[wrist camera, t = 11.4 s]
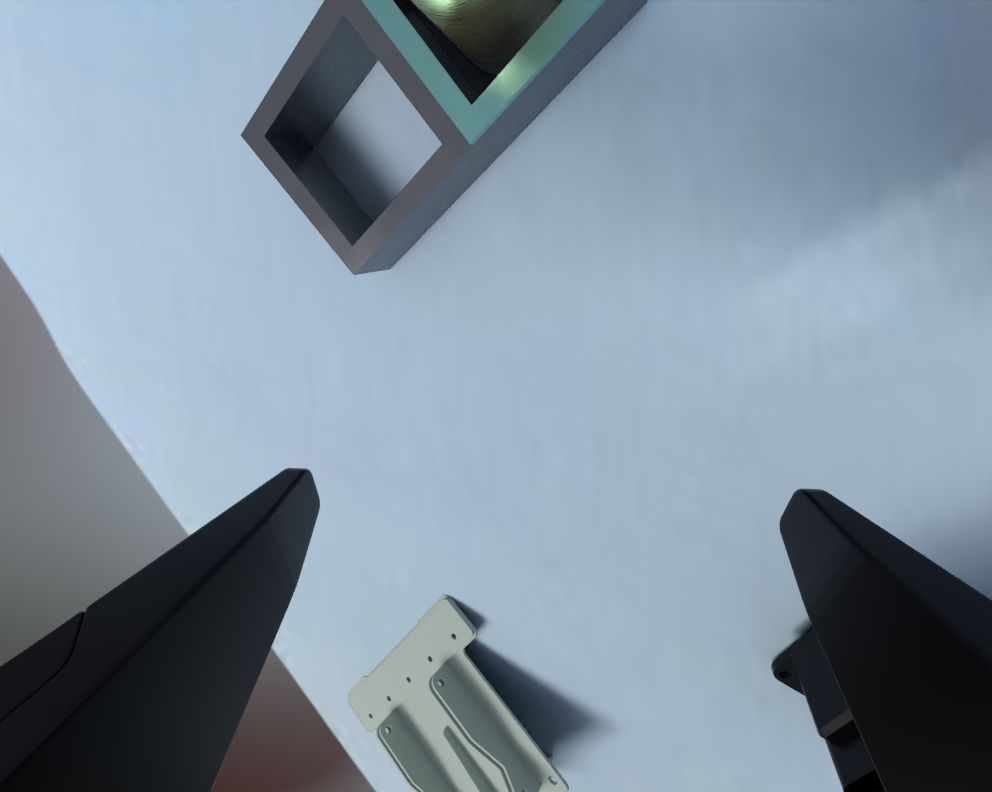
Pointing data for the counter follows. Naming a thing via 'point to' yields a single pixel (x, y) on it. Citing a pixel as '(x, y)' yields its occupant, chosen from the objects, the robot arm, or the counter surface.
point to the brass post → (488, 26)
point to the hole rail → (436, 96)
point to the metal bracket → (448, 715)
